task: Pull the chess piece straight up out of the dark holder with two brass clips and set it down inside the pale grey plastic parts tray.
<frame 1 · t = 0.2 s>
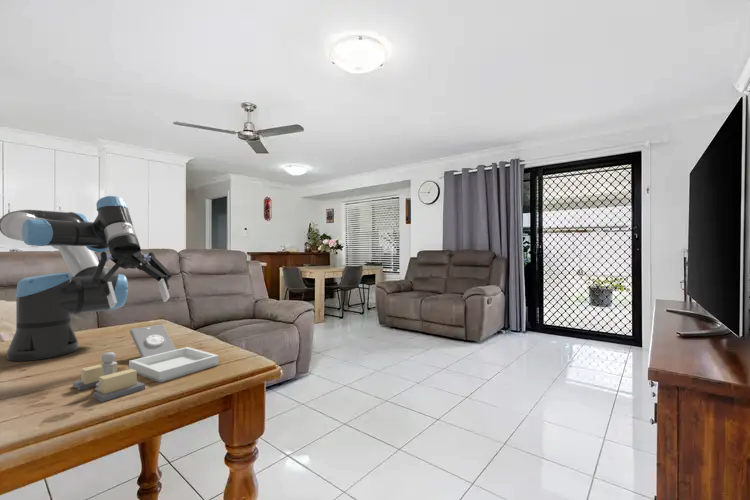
hand: (141, 302, 98), 16 cm above the table, tool tilted 35°, fingers open, 13 cm apart
parts tray: (175, 367, 90), on the table
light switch: (154, 357, 100), on the table
chess piece: (108, 388, 77), on the table
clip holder: (108, 387, 77), on the table
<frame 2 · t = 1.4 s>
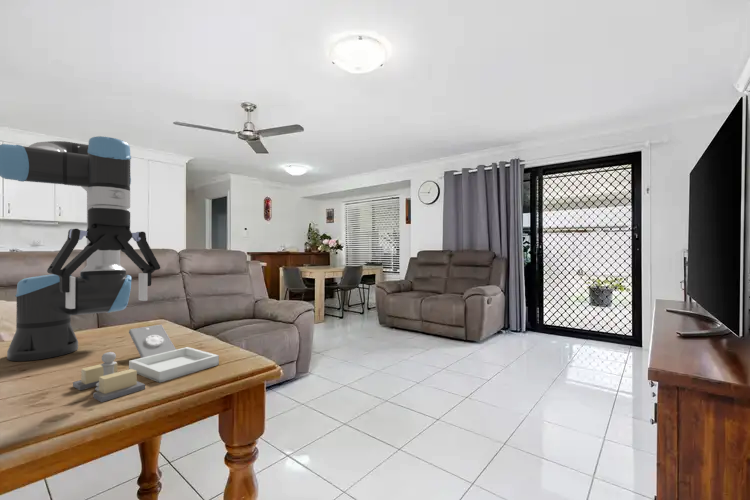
hand: (109, 304, 77), 19 cm above the table, tool pointing down, fingers open, 13 cm apart
nothing on the table moved.
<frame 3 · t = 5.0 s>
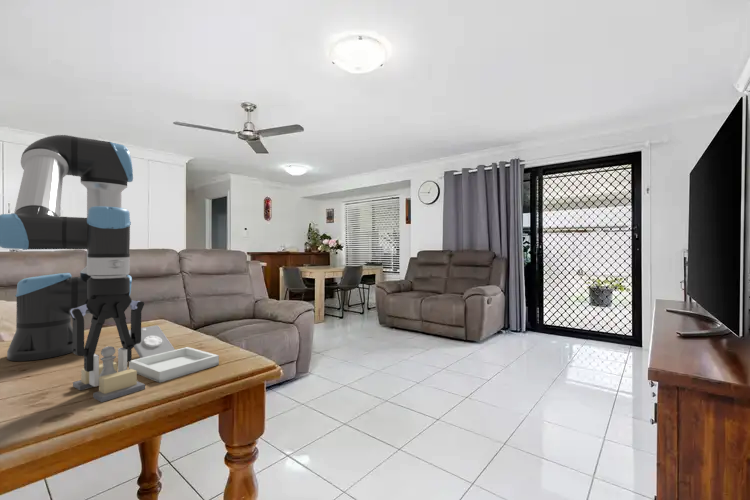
hand: (108, 380, 77), 1 cm above the table, tool pointing down, fingers closed on chess piece, 5 cm apart
chess piece: (108, 382, 77), point 1 cm above the table, touching gripper
when the fingers open (2 cm above the table, at t = 11.0 s): chess piece drops 1 cm, resting on parts tray.
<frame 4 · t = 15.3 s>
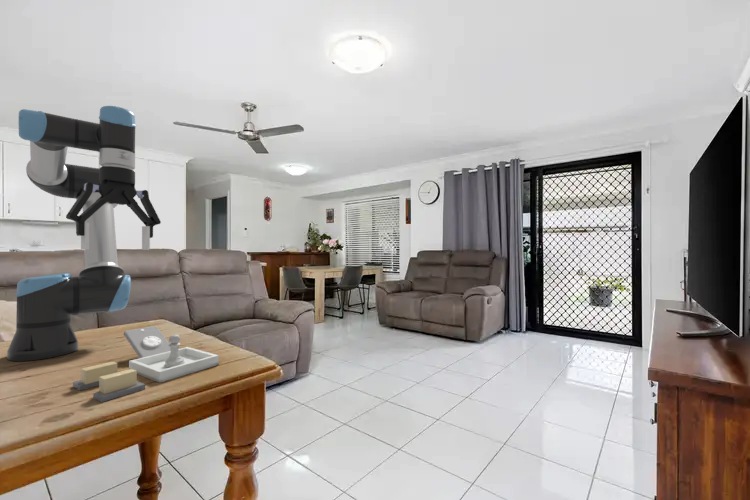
hand: (117, 249, 90), 31 cm above the table, tool pointing down, fingers open, 13 cm apart
chess piece: (174, 365, 90), resting on parts tray
at the end: chess piece inside the target area on the parts tray (0.3 cm from its centre), point 0.4 cm above the parts tray's base; the gripper is holding nothing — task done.
